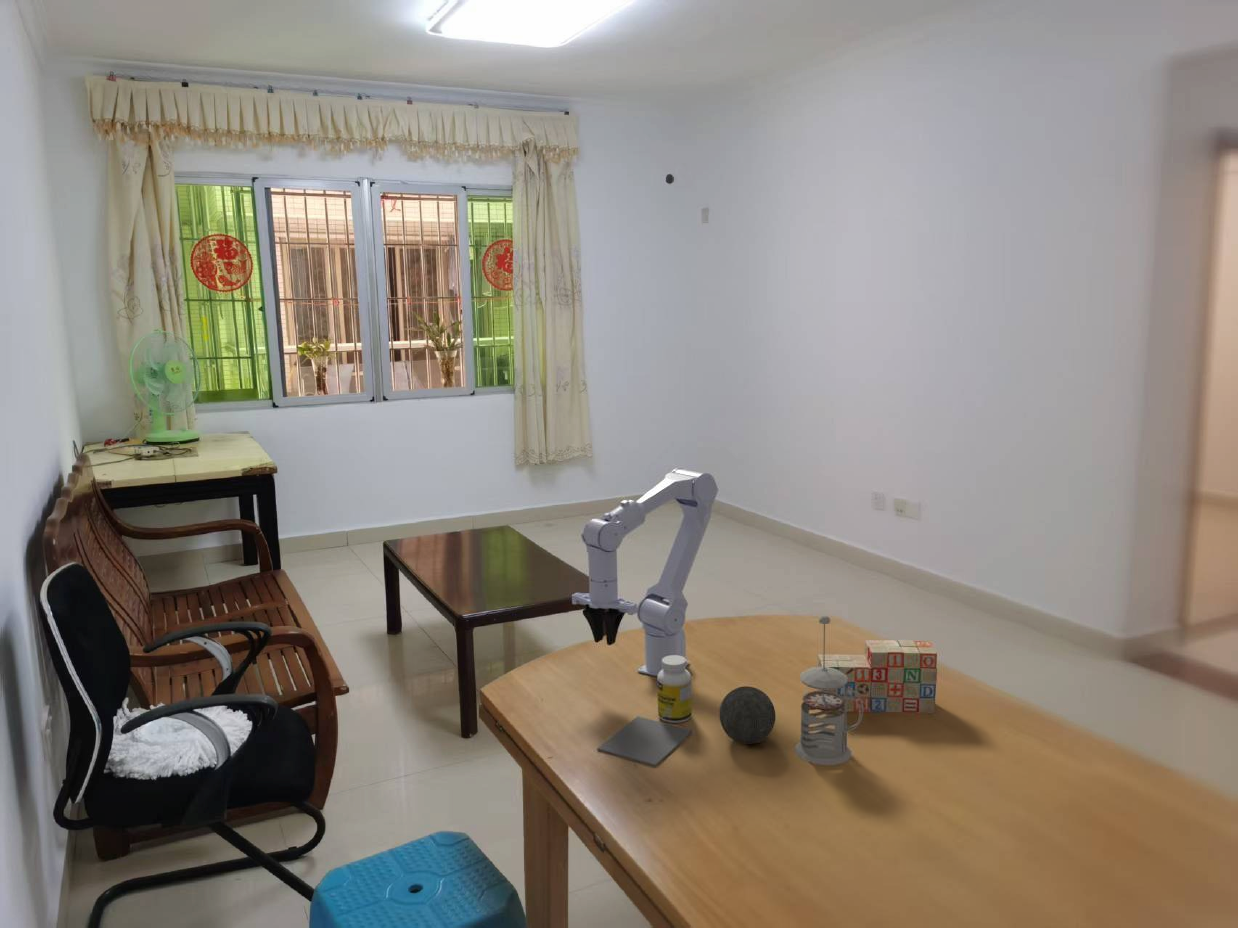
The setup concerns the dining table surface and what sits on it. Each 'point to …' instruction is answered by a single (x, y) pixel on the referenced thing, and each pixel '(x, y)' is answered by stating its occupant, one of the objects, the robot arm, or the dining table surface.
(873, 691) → the stack of blocks
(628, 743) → the mat
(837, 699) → the french press
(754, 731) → the decorative ball
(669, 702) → the pill bottle
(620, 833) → the dining table surface
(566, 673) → the dining table surface
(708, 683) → the dining table surface
